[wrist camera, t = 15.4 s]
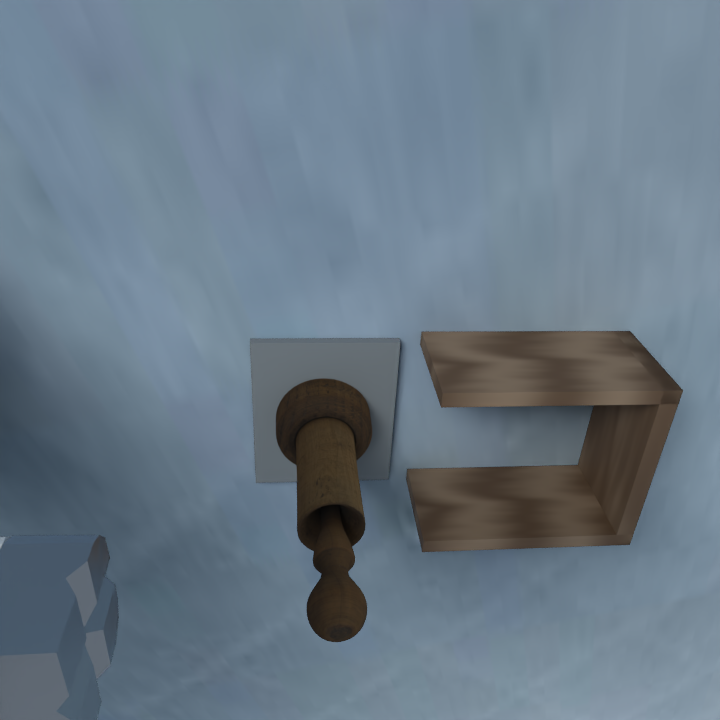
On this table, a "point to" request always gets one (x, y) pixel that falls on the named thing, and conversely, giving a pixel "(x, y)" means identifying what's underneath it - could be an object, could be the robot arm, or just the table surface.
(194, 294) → the table surface
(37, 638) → the robot arm
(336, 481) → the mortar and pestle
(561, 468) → the walnut bay
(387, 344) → the grey rubber mat
